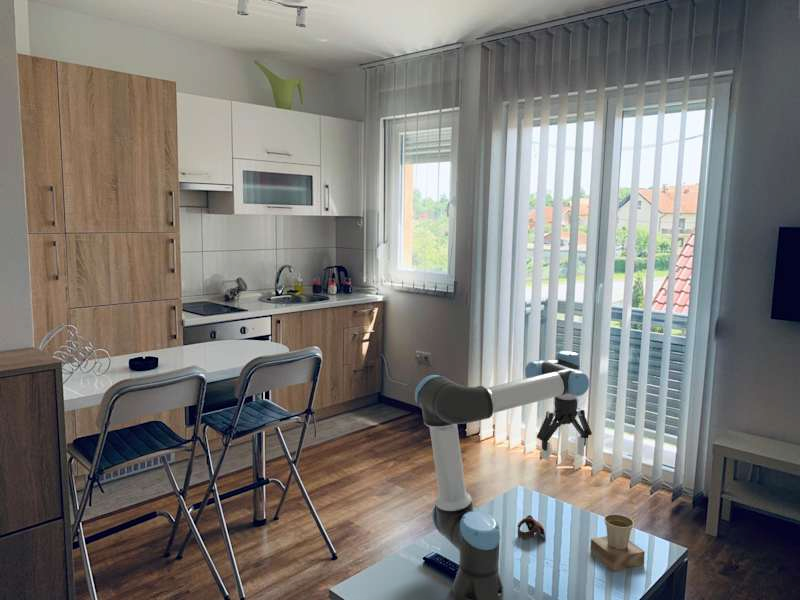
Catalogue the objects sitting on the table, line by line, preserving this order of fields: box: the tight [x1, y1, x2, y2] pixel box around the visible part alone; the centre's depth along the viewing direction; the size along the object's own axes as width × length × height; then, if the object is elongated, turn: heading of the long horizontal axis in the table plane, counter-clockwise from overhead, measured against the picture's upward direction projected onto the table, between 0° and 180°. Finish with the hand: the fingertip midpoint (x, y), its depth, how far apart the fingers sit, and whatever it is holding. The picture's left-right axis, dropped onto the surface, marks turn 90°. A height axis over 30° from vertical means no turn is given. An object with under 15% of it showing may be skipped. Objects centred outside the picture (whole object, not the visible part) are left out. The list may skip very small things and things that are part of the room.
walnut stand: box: [590, 535, 645, 573], centre depth 199 cm, size 12×12×5 cm
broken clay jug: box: [517, 514, 547, 541], centre depth 213 cm, size 12×10×8 cm
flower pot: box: [603, 513, 635, 549], centre depth 198 cm, size 9×9×9 cm
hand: (563, 457), depth 204 cm, fingers open, 13 cm apart
